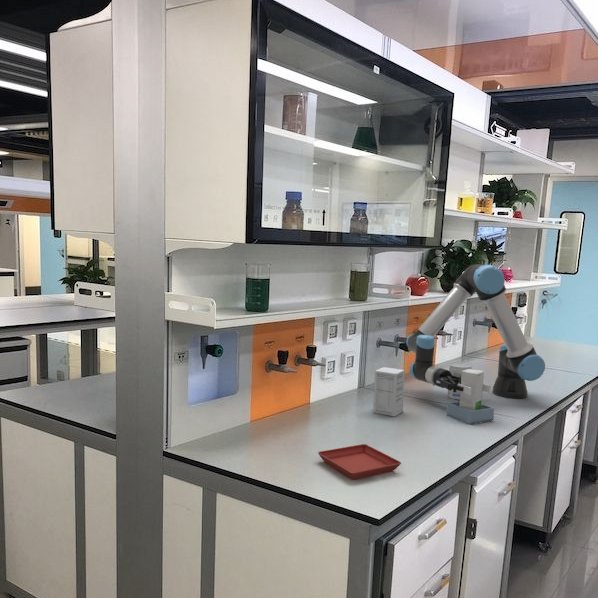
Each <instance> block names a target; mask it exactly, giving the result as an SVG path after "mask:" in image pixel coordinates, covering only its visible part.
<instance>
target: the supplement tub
mask: <svg viewBox="0 0 598 598" xmlns="http://www.w3.org/2000/svg"><path fill="white" fill-rule="evenodd" d="M448 369H449V370H448V371H450V372H451V374H452V375H454V376H456V377H460V376H461V375H462V371H464V370H467V369H472V365H470V364H468V363H463V362H461V363H460V362H454V363H450V364H449V368H448ZM447 397H448V398H450V399H453V400H456V401H457V400H458V401H460V392H459V391H457V390H456V392H453V389H452V390H451V391H450V390H448V389H447Z"/></svg>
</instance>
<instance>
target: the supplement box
mask: <svg viewBox="0 0 598 598" xmlns="http://www.w3.org/2000/svg"><path fill="white" fill-rule="evenodd" d="M405 372H406V371H405V369H399V368H395V367H394V368H392V367H386V366H384V367H381V368H378V369H376V370H375V371H374V385H373V386H374V387H373V401H372V403H373V405H372V406H373V407H372V413H374V414H379V415H385V416H390V417H391V416H392V417H396V416H397V415H399V414H401V413H402V412H404V399H405V398H404V397H405V396H404V395H405V378H406V376H405V374H406V373H405Z"/></svg>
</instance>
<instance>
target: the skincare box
mask: <svg viewBox="0 0 598 598" xmlns="http://www.w3.org/2000/svg"><path fill="white" fill-rule="evenodd" d="M484 375H485V371H484V370H478V369H473V368H471V369H467V370H464V371H462V375H461V385H465V386H468V387H471V388H472V390H471V395H468V394H465V393H462V392H460V400H459V401H460V404H459V407H462V408H465V409H467V410H470V411H473V410H480V409H481V408H482V404H483V393H484V391H483V383H484V377H485V376H484Z"/></svg>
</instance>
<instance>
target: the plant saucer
mask: <svg viewBox="0 0 598 598" xmlns="http://www.w3.org/2000/svg"><path fill="white" fill-rule="evenodd" d="M317 453H318V455H319V457H320V458H321V460H322V461H323V462H324V463H325V464H327V465H328V466H330V467H332V468H334V469H335V470H337V471H338V472H340V473H341V474H343V475H345V476H346V477H347V478H350V479H351V480H359V479H364V478H367V477H368V478H369V477H372V476H377V475H382V474H386V473H388V474H389V473H392V472H394V471H395V470H396V469H398V468H399V467H400V466H401V464H402V462H401V461H400V460H397V459H396V458H394V457H392V456H390V455H388V454H385V453H384V452H382V451H379V450H378V449H376V448H374V447H373V446H370V445H368V444H366V443H365V444H364V443H363V444H356V445H351V446H345V447H339V448H334V449H327V450H326V449H325V450H322V451H318V452H317Z"/></svg>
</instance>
